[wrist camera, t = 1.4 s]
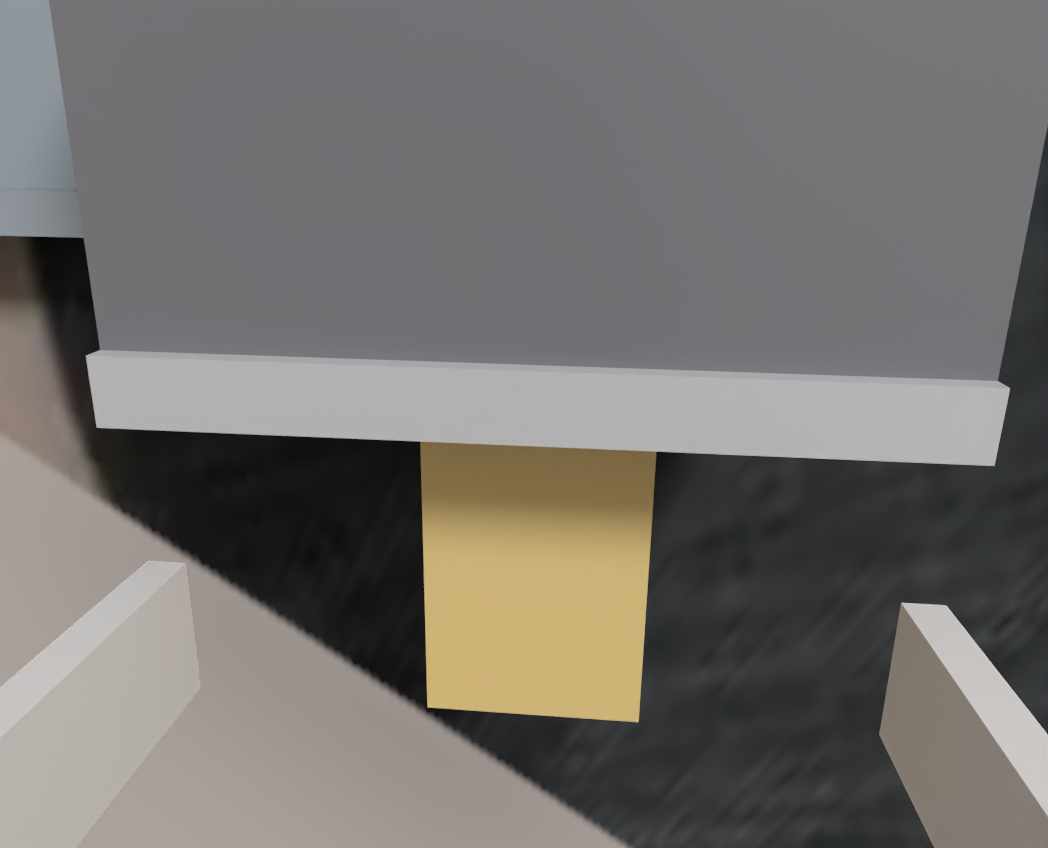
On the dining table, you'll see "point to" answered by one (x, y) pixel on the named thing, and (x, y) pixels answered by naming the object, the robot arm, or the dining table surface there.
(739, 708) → the dining table surface
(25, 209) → the tray
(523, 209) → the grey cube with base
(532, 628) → the yellow cuboid
